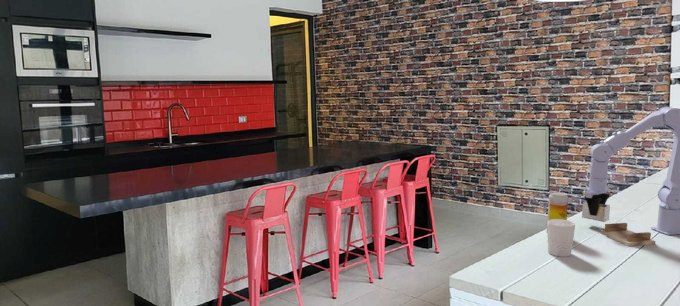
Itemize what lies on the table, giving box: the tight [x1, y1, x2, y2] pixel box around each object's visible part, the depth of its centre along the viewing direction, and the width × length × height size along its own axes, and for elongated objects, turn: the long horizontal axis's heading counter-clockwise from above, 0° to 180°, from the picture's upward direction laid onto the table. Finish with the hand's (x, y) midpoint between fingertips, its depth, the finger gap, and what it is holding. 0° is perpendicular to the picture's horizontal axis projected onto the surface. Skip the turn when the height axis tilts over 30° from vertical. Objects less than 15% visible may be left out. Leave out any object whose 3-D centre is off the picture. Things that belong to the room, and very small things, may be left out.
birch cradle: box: [599, 222, 656, 247], centre depth 180 cm, size 10×14×4 cm
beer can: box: [546, 191, 569, 235], centre depth 182 cm, size 6×6×15 cm
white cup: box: [547, 219, 576, 258], centre depth 165 cm, size 8×8×10 cm
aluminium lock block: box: [581, 201, 611, 223], centre depth 193 cm, size 4×8×6 cm, turn 40°
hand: (595, 214), depth 193 cm, fingers closed on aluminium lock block, 4 cm apart
